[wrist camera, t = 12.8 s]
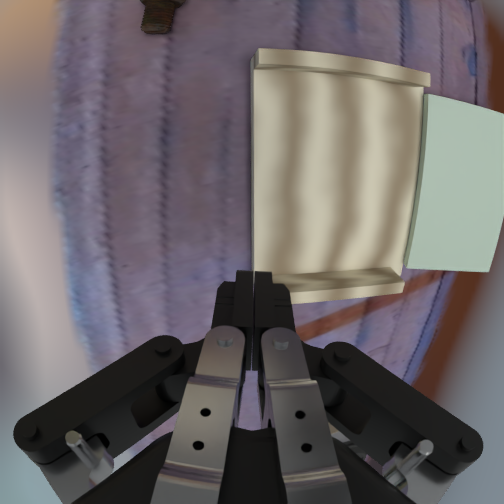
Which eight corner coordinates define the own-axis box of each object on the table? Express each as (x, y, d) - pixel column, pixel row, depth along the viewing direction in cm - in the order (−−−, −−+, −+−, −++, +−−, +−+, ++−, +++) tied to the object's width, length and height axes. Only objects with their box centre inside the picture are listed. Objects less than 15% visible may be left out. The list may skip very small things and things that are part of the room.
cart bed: (251, 275, 41) (258, 306, 34) (250, 60, 30) (258, 48, 23) (390, 265, 43) (414, 290, 36) (410, 79, 31) (443, 77, 25)
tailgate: (406, 268, 38) (488, 272, 36) (428, 93, 28) (516, 118, 26) (402, 260, 39) (482, 265, 38) (422, 94, 30) (508, 117, 28)
